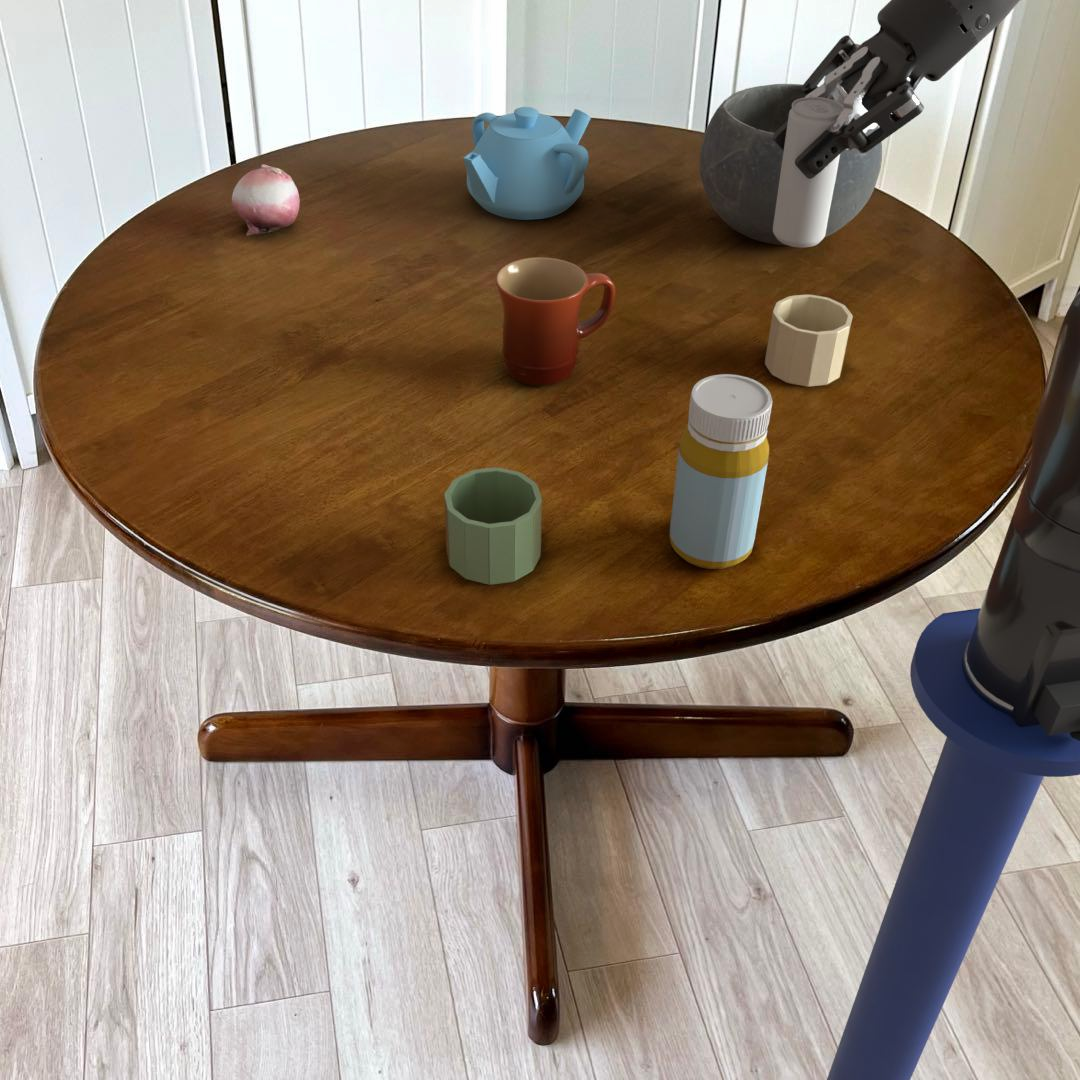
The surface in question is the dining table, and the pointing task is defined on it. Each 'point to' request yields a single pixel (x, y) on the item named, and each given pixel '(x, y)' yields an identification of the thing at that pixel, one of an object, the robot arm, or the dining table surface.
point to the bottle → (721, 471)
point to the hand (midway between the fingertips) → (790, 158)
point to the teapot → (527, 163)
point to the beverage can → (798, 196)
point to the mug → (546, 317)
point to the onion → (266, 199)
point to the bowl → (770, 163)
